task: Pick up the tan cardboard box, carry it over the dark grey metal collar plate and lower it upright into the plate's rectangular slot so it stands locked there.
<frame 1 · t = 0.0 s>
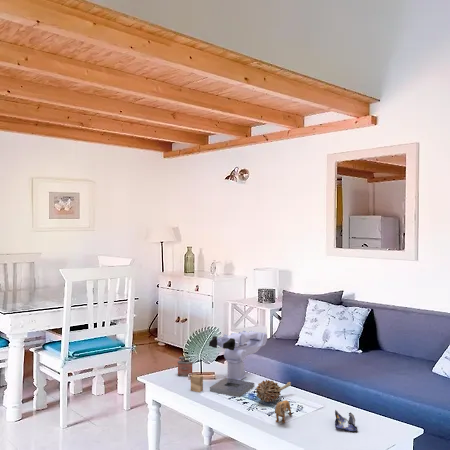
hand: (216, 345, 234), 22 cm above the table, tool horizontal, fingers open, 7 cm apart
blue pointed piece: (345, 427, 194), on the table
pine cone: (274, 400, 222), on the table
collar plate: (232, 389, 236), on the table
lion figurine: (283, 420, 200), on the table
tan cardboard box: (196, 390, 233), on the table
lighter: (185, 376, 256), on the table
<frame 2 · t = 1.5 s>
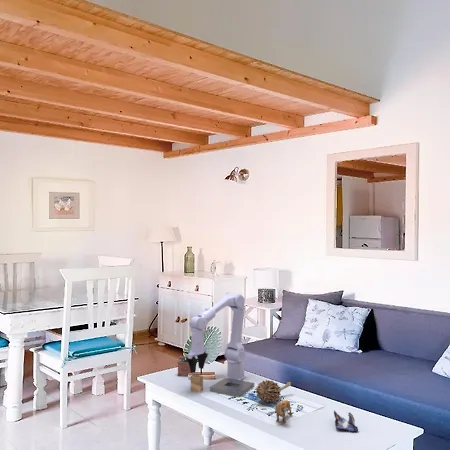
hand: (197, 370, 233), 10 cm above the table, tool pointing down, fingers open, 7 cm apart
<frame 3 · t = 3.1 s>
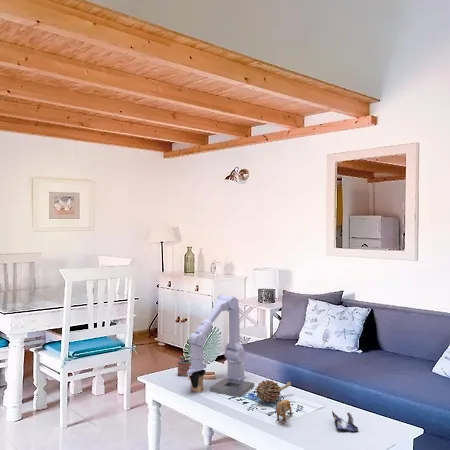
hand: (196, 386, 233), 2 cm above the table, tool pointing down, fingers closed on tan cardboard box, 3 cm apart
tan cardboard box: (196, 390, 233), on the table, touching gripper
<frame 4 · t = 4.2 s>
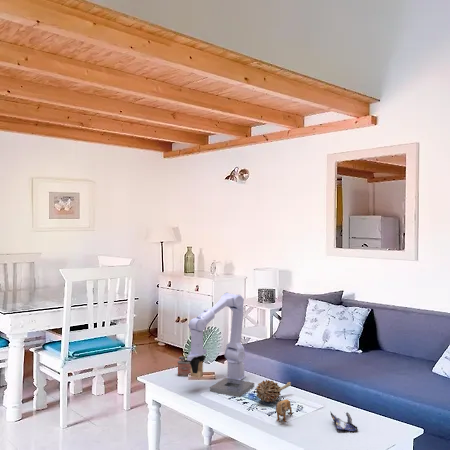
hand: (196, 371, 233), 9 cm above the table, tool pointing down, fingers closed on tan cardboard box, 3 cm apart
tan cardboard box: (196, 376, 233), point 7 cm above the table, touching gripper
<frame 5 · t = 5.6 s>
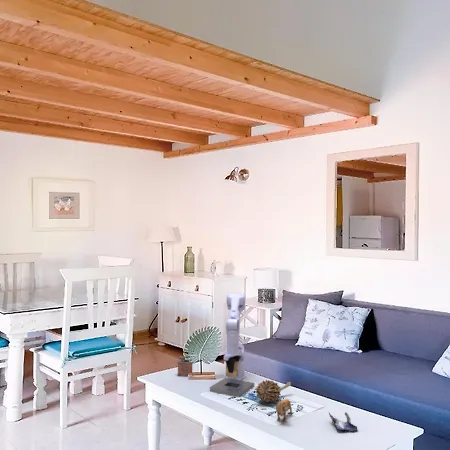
hand: (232, 371, 236), 8 cm above the table, tool pointing down, fingers closed on tan cardboard box, 3 cm apart
tan cardboard box: (231, 375, 236), point 6 cm above the table, touching gripper
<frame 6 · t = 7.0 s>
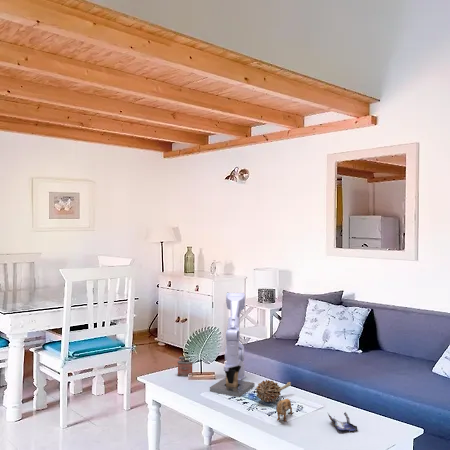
hand: (232, 382, 236), 3 cm above the table, tool pointing down, fingers closed on tan cardboard box, 3 cm apart
tan cardboard box: (231, 386, 236), point 1 cm above the table, touching gripper
when the fingers open (3 cm above the table, at t = 7.0 s): tan cardboard box drops 1 cm, resting in collar plate.
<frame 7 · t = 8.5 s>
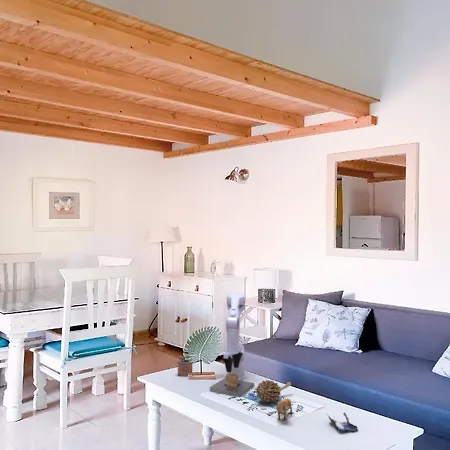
hand: (232, 369, 236), 9 cm above the table, tool pointing down, fingers open, 7 cm apart
tan cardboard box: (231, 389, 236), resting in collar plate
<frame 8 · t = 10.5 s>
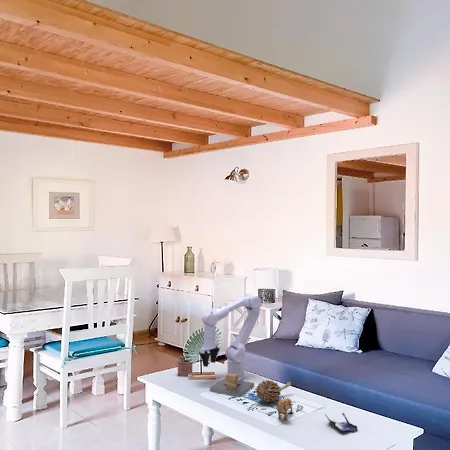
hand: (209, 364, 244), 9 cm above the table, tool pointing down, fingers open, 7 cm apart
at the end: tan cardboard box 0.2 cm off-centre on the collar plate, point 0.0 cm above the collar plate's base; tan cardboard box tilted 0°; the gripper is holding nothing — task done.
